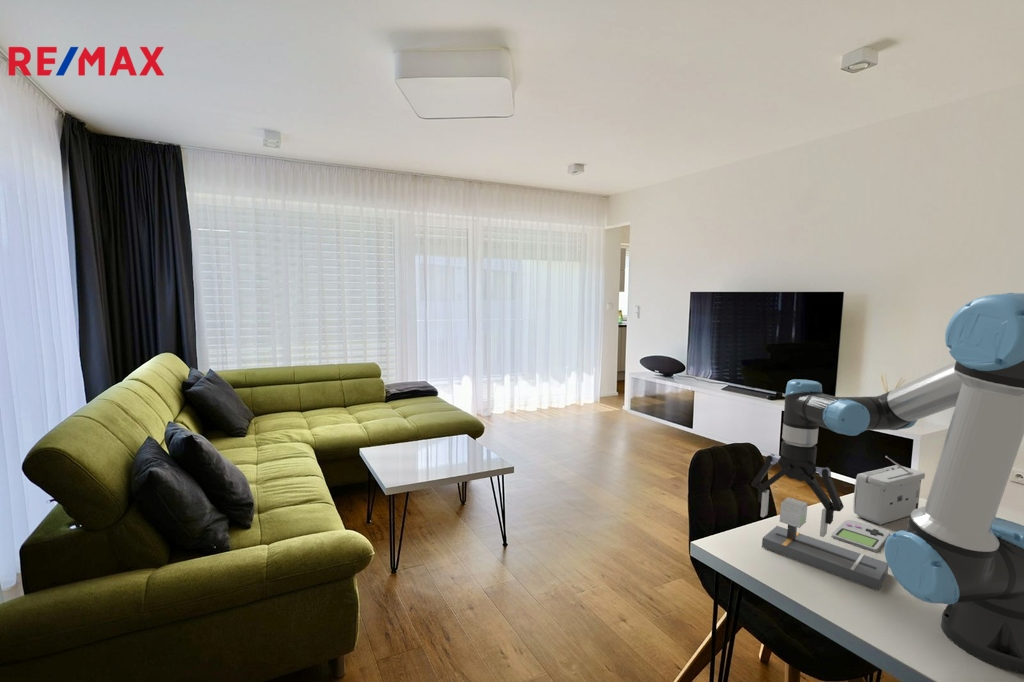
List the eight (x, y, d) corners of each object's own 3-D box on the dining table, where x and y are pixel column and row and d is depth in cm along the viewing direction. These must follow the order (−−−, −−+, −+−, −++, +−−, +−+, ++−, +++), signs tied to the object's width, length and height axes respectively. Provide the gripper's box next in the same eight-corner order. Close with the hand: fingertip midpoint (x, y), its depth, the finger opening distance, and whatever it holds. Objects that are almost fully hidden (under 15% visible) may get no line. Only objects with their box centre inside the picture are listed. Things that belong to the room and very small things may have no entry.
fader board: (887, 573, 113) (888, 562, 113) (878, 590, 106) (879, 579, 106) (776, 534, 130) (776, 525, 130) (761, 547, 123) (762, 537, 123)
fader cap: (804, 538, 123) (807, 502, 122) (797, 544, 120) (801, 508, 119) (785, 531, 126) (788, 497, 125) (778, 537, 123) (781, 502, 122)
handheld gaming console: (890, 530, 132) (876, 548, 122) (890, 536, 132) (875, 554, 122) (847, 517, 139) (830, 533, 130) (846, 522, 140) (830, 539, 130)
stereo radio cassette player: (891, 504, 152) (897, 441, 150) (922, 515, 145) (929, 449, 143) (850, 515, 143) (856, 449, 141) (881, 528, 136) (888, 458, 134)
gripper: (863, 451, 114) (855, 538, 116) (752, 428, 132) (747, 504, 134) (855, 458, 109) (846, 549, 111) (741, 433, 127) (735, 512, 129)
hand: (792, 525), depth 123 cm, fingers open, 13 cm apart
